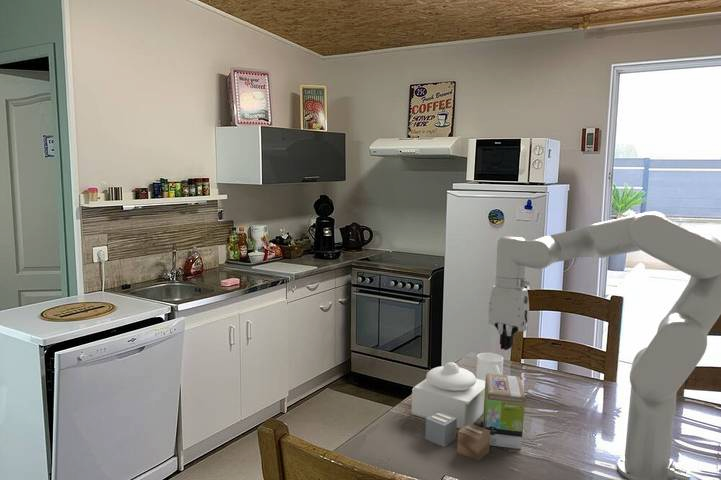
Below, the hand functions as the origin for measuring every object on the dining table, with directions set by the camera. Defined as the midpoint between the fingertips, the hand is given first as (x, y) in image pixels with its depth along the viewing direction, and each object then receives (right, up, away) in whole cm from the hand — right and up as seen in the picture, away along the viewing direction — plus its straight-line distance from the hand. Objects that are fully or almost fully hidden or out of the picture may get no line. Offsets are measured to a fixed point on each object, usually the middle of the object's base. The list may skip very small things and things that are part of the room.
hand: (505, 348), depth 144 cm
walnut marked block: (-10, -26, -7) cm, 29 cm away
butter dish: (-12, -23, +17) cm, 31 cm away
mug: (+4, -21, +34) cm, 40 cm away
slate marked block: (-18, -25, 0) cm, 31 cm away
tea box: (0, -25, +3) cm, 25 cm away
